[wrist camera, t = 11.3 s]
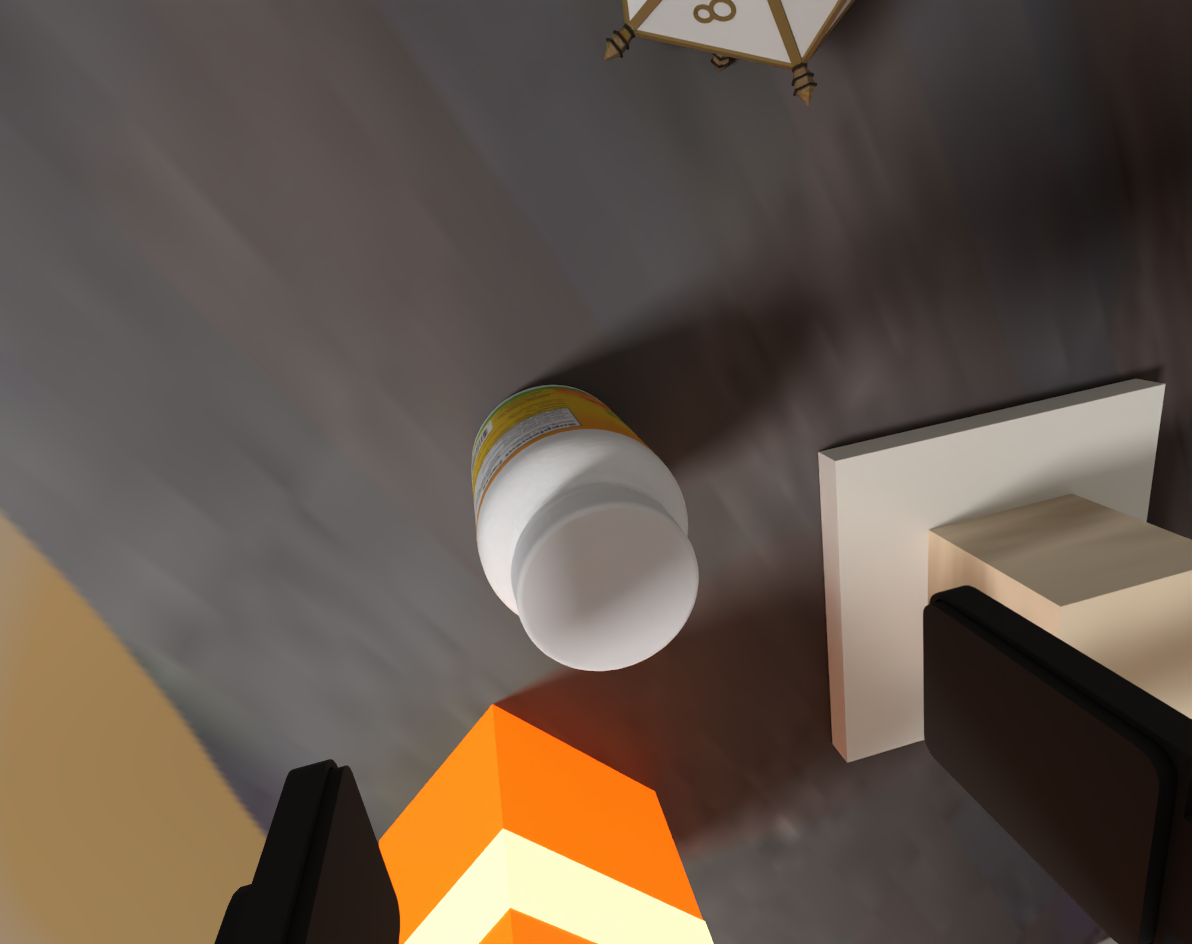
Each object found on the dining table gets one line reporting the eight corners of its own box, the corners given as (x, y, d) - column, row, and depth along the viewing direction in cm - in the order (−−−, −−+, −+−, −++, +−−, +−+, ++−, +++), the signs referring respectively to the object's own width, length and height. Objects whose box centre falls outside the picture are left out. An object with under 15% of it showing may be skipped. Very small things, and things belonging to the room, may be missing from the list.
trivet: (818, 452, 25) (835, 461, 24) (1136, 378, 27) (1165, 383, 26) (832, 743, 30) (847, 762, 29) (1101, 663, 32) (1125, 678, 31)
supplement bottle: (648, 486, 24) (766, 626, 15) (517, 556, 24) (555, 740, 15) (584, 353, 22) (676, 422, 13) (441, 428, 22) (432, 551, 13)
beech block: (928, 529, 26) (1060, 606, 20) (1071, 493, 27) (1236, 557, 21) (926, 666, 28) (1045, 770, 22) (1059, 628, 29) (1205, 719, 23)
